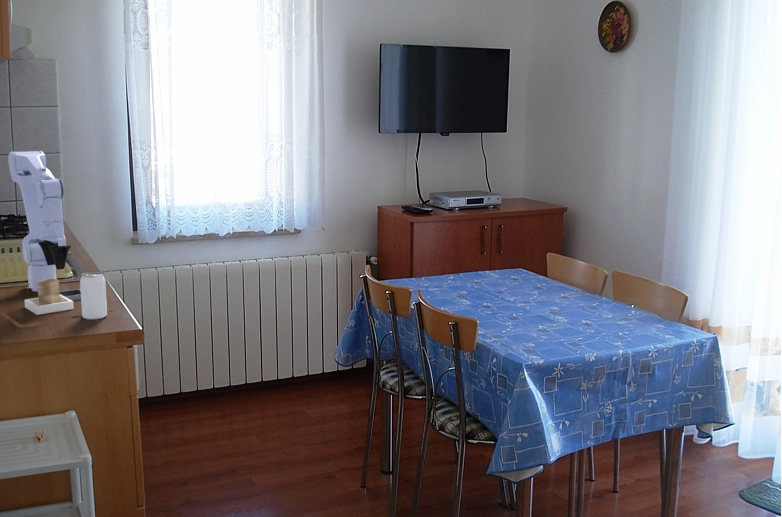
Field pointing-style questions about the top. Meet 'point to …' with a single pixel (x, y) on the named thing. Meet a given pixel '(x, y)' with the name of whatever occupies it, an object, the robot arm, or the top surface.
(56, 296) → the peg
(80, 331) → the top surface
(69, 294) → the stud socket
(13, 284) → the top surface
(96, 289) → the can
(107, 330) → the top surface
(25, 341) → the top surface
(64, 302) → the bin tray
